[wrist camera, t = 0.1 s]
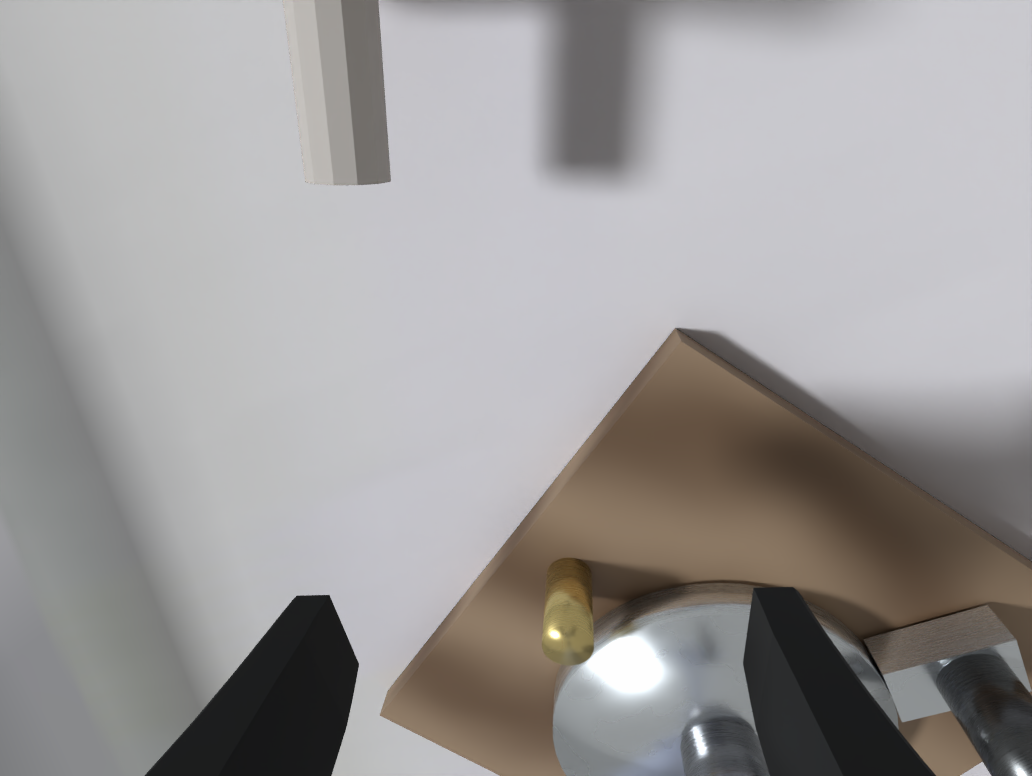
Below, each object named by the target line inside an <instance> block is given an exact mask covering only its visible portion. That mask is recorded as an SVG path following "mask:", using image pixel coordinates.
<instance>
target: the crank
mask: <svg viewBox="0 0 1032 776" xmlns="http://www.w3.org/2000/svg"><path fill="white" fill-rule="evenodd" d="M759 587H760V586H753V585H746V584H736V583H704V584H691V585H685V586H678V587H672V588H668V589H664V590H660V591H657V592H653V593H649V594H646V595H644V596H641V597H639V598H636V599H633V600H631V601H628V602H626V603H625V604H623V605H621V606H619V607H617V608H615V609H613V610H611V611H610V612H608V613H607V614H605V615H604V616H602V617H601V618H599V619H598V620H597V621H595V622H594V623H593V632H594V651H593V654H592V655H591V657H590V658H589V659H588V660H587V661H585V662H583V663H581V664H578V665H571V666H568V665H561V666H560V668H559V671H558V674H557V677H556V683H555V689H554V708H553V742H554V747H555V752H556V755H557V758H558V760H559V763H560V765H561V768H562V769H563V771H564V773H565V774H566V776H685V775H684V769H683V763H682V756H681V750H680V745H681V741H682V739H683V737H684V735H685V734H686V733H687V732H688V731H689V730H691V729H692V728H694V727H695V726H697V725H700V724H702V723H705V722H710V721H721V720H722V721H732V722H736V723H739V724H742V725H744V726H746V727H748V728H750V729H751V730H752V731H754V732H755V734H756V735H757V736H758V734H757V731H756V727H755V722H754V717H753V712H752V708H751V703H750V698H749V693H748V687H747V682H746V677H745V672H744V666H743V658H744V651H745V644H746V637H747V630H748V622H749V615H750V608H751V601H752V594H753V588H759ZM805 602H806V604H807V605H808V607H809V608H810V610H811V611H812V613H813V614H814V616H815V617H816V619H817V620H818V622H819V623H820V625H821V626H822V627H823V629H824V630H825V632H826V633H827V635H828V636H829V638H830V639H831V640H832V642H833V643H834V645H835V646H836V648H837V649H838V650H839V652H840V653H841V654H842V656H843V657H844V659H845V660H846V661H847V663H848V664H849V666H850V667H851V668H852V670H853V671H854V672H855V674H856V675H857V677H858V678H859V679H860V681H861V682H862V683H863V685H864V686H865V687H866V689H867V690H868V691H869V693H870V694H871V695H872V696H873V698H874V699H875V700H876V701H877V703H878V704H879V705H880V707H881V708H882V709H883V710H884V712H885V713H886V714H887V716H888V717H889V718H890V719H891V721H892V722H893V723H894V725H895V726H896V727H897V728H898V730H899V727H898V715H899V717H900V719H901V721H902V722H906V721H910V720H915V719H919V718H923V717H927V716H931V715H935V714H940V713H944V712H948V711H951V712H952V713H953V715H954V716H955V718H956V720H957V721H958V723H959V724H960V726H961V728H962V729H963V731H964V732H965V734H966V736H967V737H968V739H969V740H970V742H971V744H972V745H973V747H974V748H975V750H976V752H977V753H978V755H979V756H980V758H981V760H982V761H983V763H984V765H985V766H986V768H987V769H988V771H989V773H990V774H991V776H1032V695H1031V694H1030V692H1031V691H1032V690H1031V687H1030V684H1029V680H1028V677H1027V674H1026V670H1025V667H1024V664H1023V660H1022V657H1021V654H1020V650H1019V647H1018V644H1017V640H1016V639H1015V638H1014V636H1013V635H1012V634H1011V633H1010V632H1009V630H1008V629H1007V628H1006V627H1005V626H1004V624H1003V623H1002V622H1001V621H1000V620H999V618H998V617H997V616H996V615H995V614H994V612H993V611H992V610H991V609H990V608H989V606H988V605H985V606H981V607H978V608H974V609H971V610H967V611H963V612H960V613H956V614H953V615H949V616H946V617H942V618H938V619H935V620H931V621H928V622H924V623H920V624H917V625H913V626H910V627H906V628H902V629H899V630H895V631H892V632H888V633H885V634H881V635H877V636H874V637H870V638H867V639H864V642H865V644H866V647H867V649H868V651H869V654H870V656H871V657H870V656H869V654H868V652H867V650H866V648H865V647H864V645H863V644H862V643H861V642H860V640H859V639H858V638H857V636H856V635H855V634H854V633H853V632H852V631H851V630H850V629H849V628H848V627H847V626H845V625H844V624H843V623H842V622H841V621H840V620H838V619H837V618H836V617H834V616H833V615H831V614H830V613H828V612H827V611H825V610H824V609H822V608H820V607H818V606H816V605H814V604H812V603H810V602H808V601H806V600H805ZM896 711H897V712H896ZM897 713H898V715H897Z"/></svg>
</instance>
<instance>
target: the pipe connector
mask: <svg viewBox="0 0 1032 776" xmlns="http://www.w3.org/2000/svg"><path fill="white" fill-rule="evenodd" d="M283 6H284V14H285V22H286V30H287V38H288V46H289V54H290V62H291V70H292V78H293V87H294V95H295V103H296V111H297V119H298V127H299V135H300V143H301V151H302V159H303V167H304V175H305V182H307V183H311V184H320V185H367V184H380V183H385V182H390V181H391V177H390V162H389V148H388V133H387V119H386V105H385V90H384V76H383V62H382V47H381V33H380V18H379V4H378V0H283Z"/></svg>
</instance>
